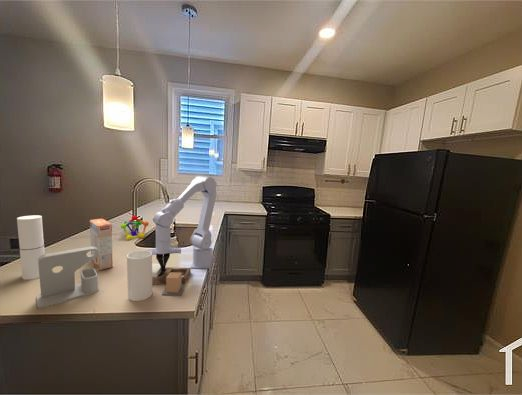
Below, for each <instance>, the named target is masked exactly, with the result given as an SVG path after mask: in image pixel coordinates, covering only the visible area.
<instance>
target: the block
mask: <svg viewBox="0 0 522 395" xmlns="http://www.w3.org/2000/svg"><path fill="white" fill-rule="evenodd" d="M182 275H183V274H182V273H180V272H170V273H169V275H168V276H167V277H166V284H165V285H166V286H165V289H166V292H174V293H178V292H179V290H180V288H181V285H182V284H181V280H182V277H183V276H182Z"/></svg>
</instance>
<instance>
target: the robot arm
mask: <svg viewBox="0 0 522 395" xmlns="http://www.w3.org/2000/svg"><path fill="white" fill-rule="evenodd" d="M217 185H218V183H217V181H216V180H215V178H214V177H212V176H209V177H208V176H202V175H197V176H195V178H194V179H192V180H191V183H190V184H188V186H187V187H186V188H185V190H184V191H183V192H182V193H181V194H180V196H178V198H172V199H169V203H168V204H166V206H165V207H163V208H161V211H157V212H156V213H155V214H154V217H153V218H152V221H153V223H154V224H155V248H151V249H146V250H147V251H151V252H152V256H155V259H156V260H157V262H158V263H159V264H160V267H161V271H165V267H167V266H166V265H167V263H168V260H169V259H170V256H171V255H172V254H182V247H172V246H171V225H173V223H174V219H175V217H176V216H177V215H178V214H179V213H180V212H181V211H182V210H183V209H184V208H185V203H186V202H187V201H188V200H190V199H191V197H193V196H194V195H195V194H196V193H199V192H200V193H201V194H202V195H203V202H202V205H201V209H200V216H199V220H198V225H197V228H195V229H194V230H193V233H192V235H191V236H190V239H189V240H190V244H191V245H192V264H191V265H190V268H191V269H211V268H212V265H213V261H214V259H213V257H214V256H213V254H214V251H213V250H214V249H213V247H211V245H212V242H213V241H212V233H211V231H210V226H211V221H212V216H213V212H214V209H215V208H214V207H215V203H216V200H217V199H216V198H217Z"/></svg>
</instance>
